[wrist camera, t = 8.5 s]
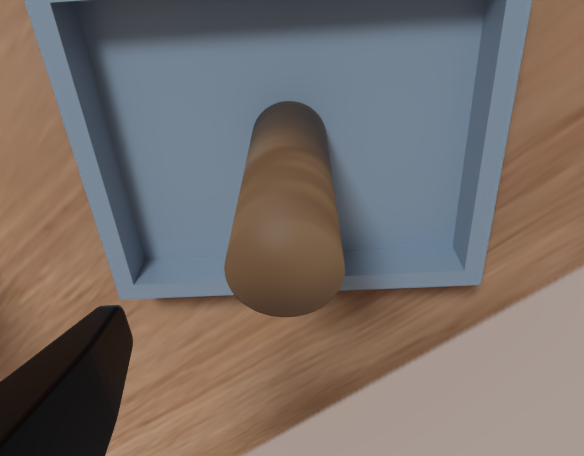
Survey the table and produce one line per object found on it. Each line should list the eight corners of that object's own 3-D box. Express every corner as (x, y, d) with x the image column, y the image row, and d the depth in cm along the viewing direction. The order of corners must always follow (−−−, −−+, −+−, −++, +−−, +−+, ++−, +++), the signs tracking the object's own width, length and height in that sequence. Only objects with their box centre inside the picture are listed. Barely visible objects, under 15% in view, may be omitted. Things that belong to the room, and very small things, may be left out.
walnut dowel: (325, 98, 19) (344, 217, 11) (327, 169, 20) (345, 314, 13) (248, 103, 19) (216, 223, 11) (256, 172, 21) (232, 319, 13)
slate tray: (511, -63, 17) (543, -61, 14) (464, 252, 23) (480, 284, 21) (51, -31, 17) (16, -24, 15) (135, 266, 24) (120, 299, 22)
